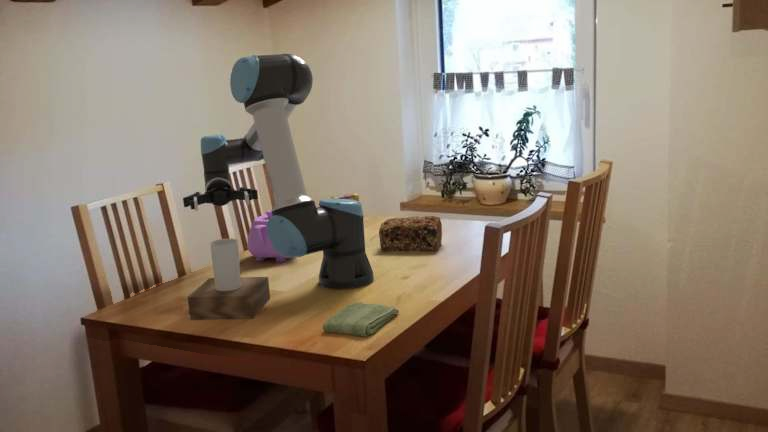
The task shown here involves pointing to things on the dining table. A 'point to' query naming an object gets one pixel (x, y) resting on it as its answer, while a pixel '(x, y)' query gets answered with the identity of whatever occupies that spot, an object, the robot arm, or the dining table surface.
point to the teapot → (262, 240)
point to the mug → (226, 264)
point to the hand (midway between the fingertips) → (221, 202)
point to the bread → (411, 234)
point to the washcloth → (359, 319)
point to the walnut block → (229, 300)
